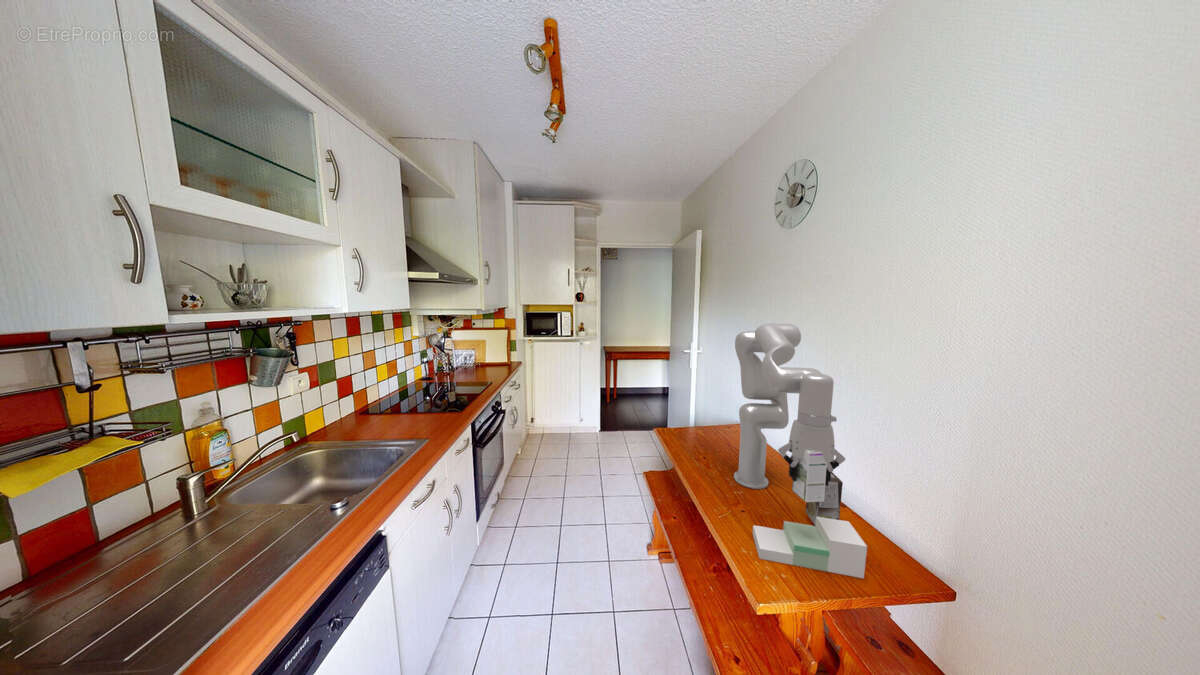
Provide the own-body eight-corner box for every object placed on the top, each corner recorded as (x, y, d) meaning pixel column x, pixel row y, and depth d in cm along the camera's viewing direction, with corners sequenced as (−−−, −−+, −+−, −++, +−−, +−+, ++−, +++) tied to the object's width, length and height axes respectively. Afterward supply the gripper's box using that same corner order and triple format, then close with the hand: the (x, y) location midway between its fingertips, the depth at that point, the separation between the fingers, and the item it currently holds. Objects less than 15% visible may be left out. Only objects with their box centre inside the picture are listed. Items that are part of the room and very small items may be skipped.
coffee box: (839, 531, 103) (843, 482, 101) (816, 528, 104) (820, 480, 103) (825, 513, 112) (829, 468, 110) (804, 510, 113) (808, 466, 111)
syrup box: (825, 502, 89) (829, 450, 88) (804, 502, 89) (808, 451, 87) (810, 490, 95) (814, 441, 93) (790, 490, 95) (794, 442, 93)
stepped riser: (752, 534, 102) (754, 506, 101) (846, 550, 95) (848, 521, 94) (759, 559, 92) (761, 529, 91) (864, 579, 85) (867, 547, 84)
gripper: (844, 417, 91) (838, 478, 93) (774, 411, 95) (771, 470, 97) (857, 427, 84) (851, 493, 86) (781, 420, 88) (777, 483, 90)
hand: (808, 480), depth 91 cm, fingers closed on syrup box, 7 cm apart
